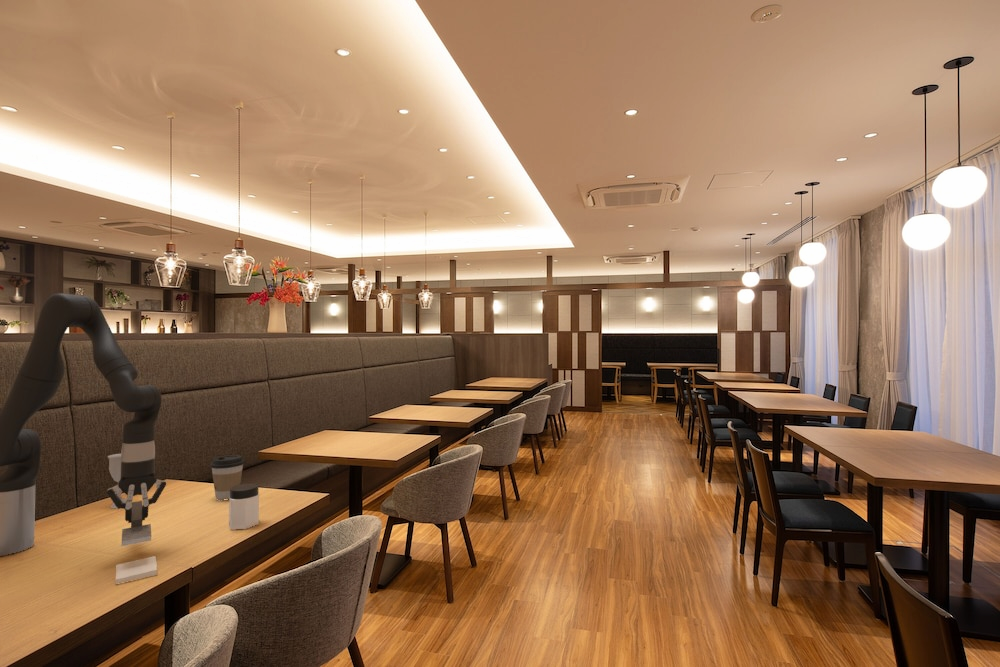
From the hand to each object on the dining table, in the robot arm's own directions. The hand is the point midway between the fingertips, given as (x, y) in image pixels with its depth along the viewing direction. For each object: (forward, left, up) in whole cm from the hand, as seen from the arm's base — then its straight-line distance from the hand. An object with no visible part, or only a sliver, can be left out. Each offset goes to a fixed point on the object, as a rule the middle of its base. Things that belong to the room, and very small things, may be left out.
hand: (136, 520), depth 131 cm
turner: (0, -3, -1) cm, 3 cm away
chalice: (-5, +53, -9) cm, 54 cm away
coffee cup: (+27, +39, -9) cm, 48 cm away
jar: (+27, +4, -9) cm, 29 cm away
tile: (0, -10, -8) cm, 13 cm away
